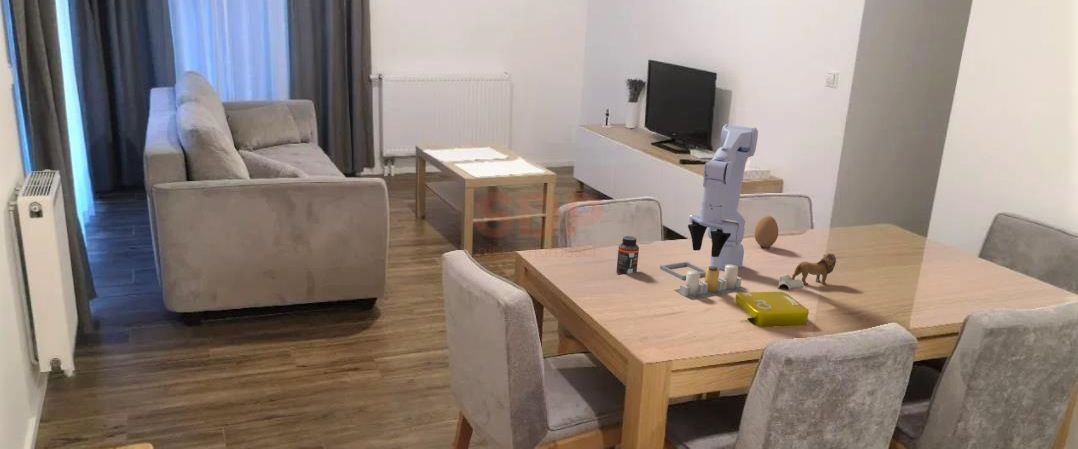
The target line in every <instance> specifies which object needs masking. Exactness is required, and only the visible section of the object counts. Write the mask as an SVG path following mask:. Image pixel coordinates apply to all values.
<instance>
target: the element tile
mask: <svg viewBox="0 0 1078 449" xmlns="http://www.w3.org/2000/svg"><path fill="white" fill-rule="evenodd" d="M734 302H735V304H736V305H737V306H738V307H740V308H741V309H742V310H743V311H744V312H745V313H746V314H748V315H749V316H750V317H747V318H746V319H747V321H749V322H750V323H751V324H752V325H753V326H756V327H758V328H775V327H774V326H781V327H804V326H806V325H808V318H809V309H808V308H806V307H805V306H804V305H802V304H801V303H800V302H798V301H797V300H796V299H794V298H793V297H792V296H791V295H789V294H788V293H787V292H785V291H784V292H783V291H752V292H751V291H749V292H747V291H745V292H744V291H739V292H736V293H735V300H734ZM803 325H804V326H803Z"/></svg>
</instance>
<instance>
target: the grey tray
mask: <svg viewBox="0 0 1078 449" xmlns="http://www.w3.org/2000/svg"><path fill="white" fill-rule="evenodd" d="M678 267H688V268H689V269H692V270H693V271H697V272H700V277H705V276H706V269H703V268H702V267H699V266H697V265H695V264H693V263H691V262H689V261H681V262H680V261H679V262H676V263H675V262H674V263H668V264H661V265H660V266H659V269H660V270H662V271H664V272H665V273H667V274H669V275H671V276H674V277H675V278H678V279H680V280H686V275H687V274H683V275H682V274H680V273H679V272H677V271H675V270H673V268H678Z"/></svg>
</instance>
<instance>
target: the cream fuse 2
mask: <svg viewBox="0 0 1078 449" xmlns="http://www.w3.org/2000/svg"><path fill="white" fill-rule="evenodd" d="M738 273H739V267H738V266H736V265H730V264H729V265H725V270H724V273H723V279H725V280H727V288H728V289H734V288H736V281H737V276H738Z"/></svg>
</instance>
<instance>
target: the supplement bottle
mask: <svg viewBox="0 0 1078 449" xmlns="http://www.w3.org/2000/svg"><path fill="white" fill-rule="evenodd" d="M621 241H622V243H620V244H619V245H618V250H617V260H616V261H617V263H616V274H617V275H618V276H621V275H628V274H634V273H637V272H638V262H639V250H640V247H639V245H638V244H637V237H635V236H631V235H630V236H629V235H625V236H623V237H622V240H621Z"/></svg>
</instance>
